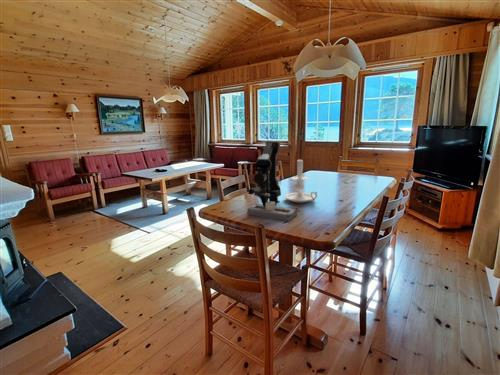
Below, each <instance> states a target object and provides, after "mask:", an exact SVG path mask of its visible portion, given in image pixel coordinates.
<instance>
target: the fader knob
mask: <svg viewBox="0 0 500 375" xmlns="http://www.w3.org/2000/svg"><path fill="white" fill-rule="evenodd" d="M275 206H276V204H275V202H272V201H269V200H268V202H266V210H272V211H275Z"/></svg>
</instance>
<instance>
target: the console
mask: <svg viewBox="0 0 500 375" xmlns="http://www.w3.org/2000/svg"><path fill="white" fill-rule="evenodd" d="M246 215H251V216H256V217H262V218H268V219H274V220H280V221H285V222H289V221H291V220H292V219H294V218H295V217H296V216H297V215H298V211H297V209H295V208H289V207H282V206H276V205H275V211H272V210H266V206H265V207H264V206H263V204H260V203H256V204H254V205H252V206H249V207H248V208H247V211H246ZM294 216H295V217H294Z"/></svg>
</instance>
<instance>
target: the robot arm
mask: <svg viewBox="0 0 500 375" xmlns="http://www.w3.org/2000/svg"><path fill="white" fill-rule="evenodd" d="M280 150H281V144H280V142H278V141H274V140H266V141H265V145H264V148H263V152H262V154H261V155H259V156H258V158H257V160H256V163H255V168H254V172H256V174H255V175H254V176H253V181H254V183H255V184H257V186H255V187H250V188H249V189H248V191H247V194H248V195H254V196H256V197H258V198H259V199H260V201H261V203H262V204H261V205H263V206H264V207H265V206H266V202H268V201H272V202H275V205H277V204H278V203H280V202H281V201H280V200H278V199H279V198H278V197H280V196H281V195H282V192H281V187H280V185H279V180H278V179H277V159H278V158H277V156H278V154H279V153H280Z"/></svg>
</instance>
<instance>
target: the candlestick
mask: <svg viewBox="0 0 500 375" xmlns="http://www.w3.org/2000/svg"><path fill="white" fill-rule="evenodd" d="M303 171H304V161H303V159H297V160H296V176H292V177H290V179H291V180H293V181H296V184H295V190H296V191H297V192H291V193H286V194H284V195H283V197H284V199H286V200H288V201H289V202H293V203H300V204H301V203H308V202H315V200H316V199H317V197H318V194H319V193H318V191H312V192H311V193H307V192H303V190H304V189H305V186H304V183H303V181H306V180H308V179H309V177H308V176H303ZM317 193H318V194H317Z"/></svg>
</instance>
